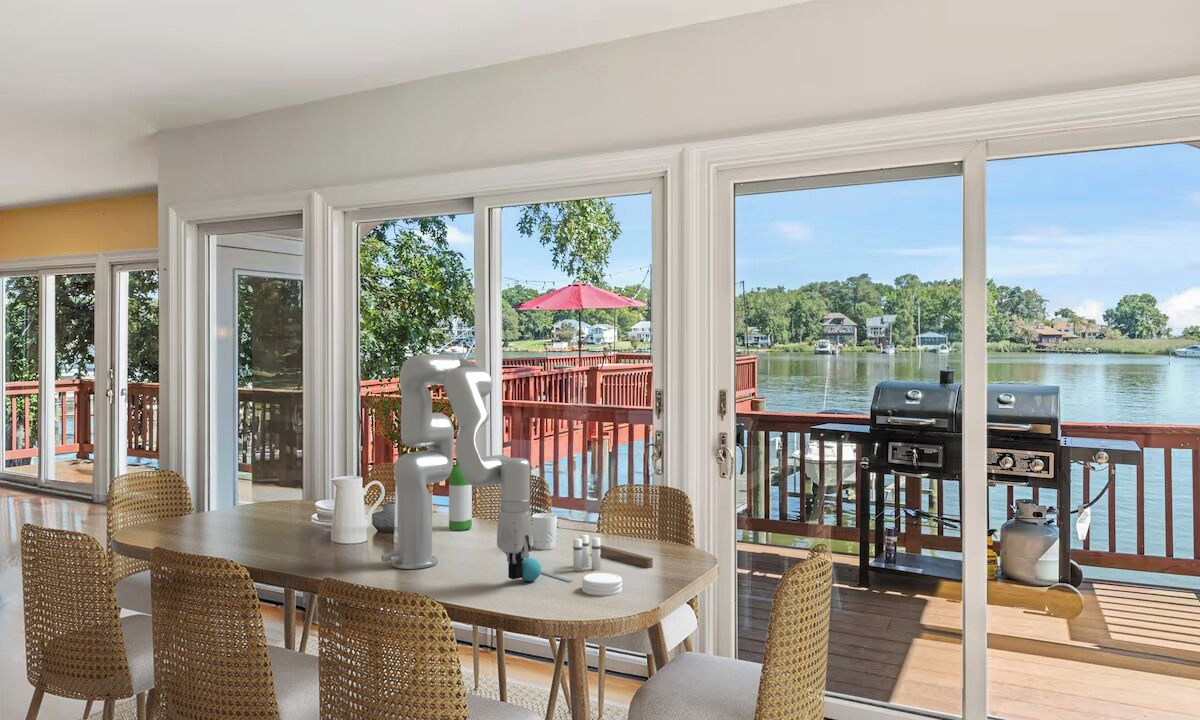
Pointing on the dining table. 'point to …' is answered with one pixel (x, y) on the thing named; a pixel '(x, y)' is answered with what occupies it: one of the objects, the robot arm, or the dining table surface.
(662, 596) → the dining table surface
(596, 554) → the pin back right
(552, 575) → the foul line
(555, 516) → the white cup
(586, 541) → the pin back left
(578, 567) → the pin front
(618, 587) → the coaster
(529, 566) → the ball
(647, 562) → the backstop
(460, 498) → the wine bottle
